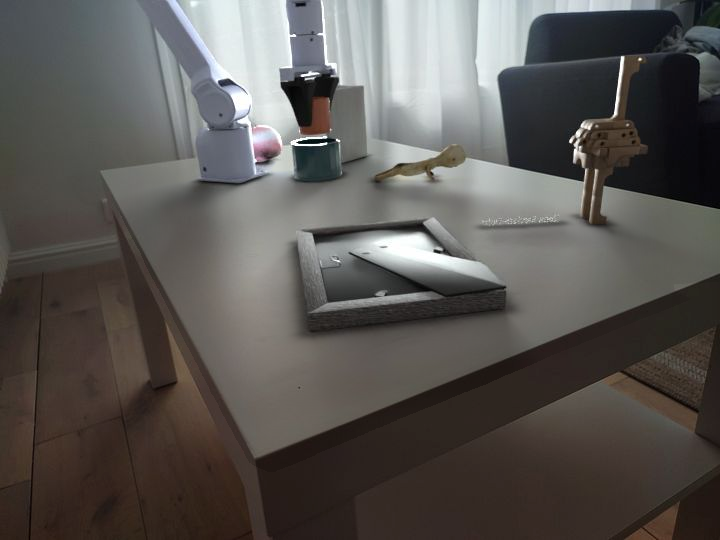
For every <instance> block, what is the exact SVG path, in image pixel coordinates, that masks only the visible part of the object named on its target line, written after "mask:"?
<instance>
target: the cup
mask: <svg viewBox="0 0 720 540" xmlns="http://www.w3.org/2000/svg"><path fill="white" fill-rule="evenodd" d="M297 127H298V131H299V132H298V134H299V135H302V136H317V135H324V134H325V135H326V133H329V132H331V117H330V103H329V97H313V99H312V123H311V126H310V127H299V126H298V125H297Z"/></svg>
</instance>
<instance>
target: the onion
mask: <svg viewBox="0 0 720 540" xmlns="http://www.w3.org/2000/svg"><path fill="white" fill-rule="evenodd" d="M251 135H252V143H253V150H254V158H255V164H256V163H264V162H266V161H269V160H272V159H274V158H277V157H279V155H281V154H282V151H283V142H282V139H281V136H280V134H279V133H278V131H276V129H274V128H272V127H271V126H268V125H265V124H262V125H260V124H255V125H254V127H251Z"/></svg>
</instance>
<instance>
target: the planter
mask: <svg viewBox="0 0 720 540" xmlns="http://www.w3.org/2000/svg"><path fill="white" fill-rule="evenodd" d="M365 95H366V94H365V86H364V85H360V84H359V85H357V84H355V85H354V84H353V85H352V84H347V85H346V84H345V85H344V84H338V85H337V88H336V90H335V93H334V96H333V100H332V106H331V112H330V117H331V132H329V133H325V137H331V138H337V139H339V140H340V151H341V164H344V163H347V162H351V161H354V160H358V159H362V158H364V157H367V156H368V139H367V117H366V115H367V114H366V99H365V98H366V97H365Z"/></svg>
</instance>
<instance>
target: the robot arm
mask: <svg viewBox="0 0 720 540" xmlns="http://www.w3.org/2000/svg"><path fill="white" fill-rule="evenodd" d="M285 1H286V2H285V10H286V21H287V31H288V43H289V53H290V64H291V66H285V67H284V66H283V67H279V68H278V74H279V81H280V82H279V84H280V89H281V90H282V91H283V93H284V94H285V96H286V98H287V100H288V101H289V104H290V106H291V109H292V111H293V114H294V117H295V120H296V123H297V127H298V126H299V127H310V126H311V123H312V99H313V97H329V103H330V112H331V106H332V100H333V96H334V93H335V90H336V88H337V85H339V83H340V76H337V73H338V72H337V63H336V62H330V63H329V62H328V60H327V45H326V33H325V32H326V31H325V30H326V29H325V19H324V17H325V16H324V3H323V1H322V0H285ZM136 2H137V4H138V5H139V6H140V8H141V10H142V11H143V12H144V14H145V15H146V17H147V18H148V19H149V21H150V23H151V24H152V25H153V27H154V29H155V30H156V32H157V33H158V34H159V36H160V37H161V39H162V40H163V41H164V43H165V45H167V47H168V49H169V50H170V52H171V53H172V55H173V56H174V58H175V59H176V61H177V62H178V64H179V65H180V66H181V68H182V70H183V71H184V73H185V74H186V76H187V77H188V78H189V80H190V93H191V95H192V96H193V98H195V101H196V104H197V109H198V112H199V115H200V117H201V118H202V120H203V121H204V122H205V123H206V126H205V127H203V128H201V129H200V130H199V131H198V132H197V133H196V138H195V149H196V154H197V161H198V166H199V172H200V176H199V177H197V181H201V182H215V183H228V184H229V183H230V184H243V183H245V182H249V181H251V180H253V179H256V178H259V177H262V176H265V175H267V174H268V173H267V172H268V171H266V170H257V167H256V163H255V161H256V159H255V158H254V150H253V143H252V135H251V129H252V126H251V122H250V120H249V118H248V116H249V115H250V113H251V111H252V107H253V101H252V97H251V95H250V93H249V92H248V90H247V89H246V88H245V87H244V86H242V85H240V84H239V83H237V82H236V81H235V79H234V78H233V77H232V75H231V74H230V73H229V72H228V71H227V70H226V69H224V68H223V67H222V66H221V65H220V64H219V63H218V62H217V61H216V59H215V58H214V56H213V54H212V53H211V51H210V50H209V48H208V47H207V45H206V44H205V42H204V41H203V39H202V38H201V36H200V34H199V32H198V31H197V30H196V28H195V27H194V25H193V24H192V22H191V21H190V19H189V18H188V16H187V15H186V13H185V11H183V9H182V7H181V6H180V4H179V3H178V2H177V0H136ZM299 127H298V128H299Z"/></svg>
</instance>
